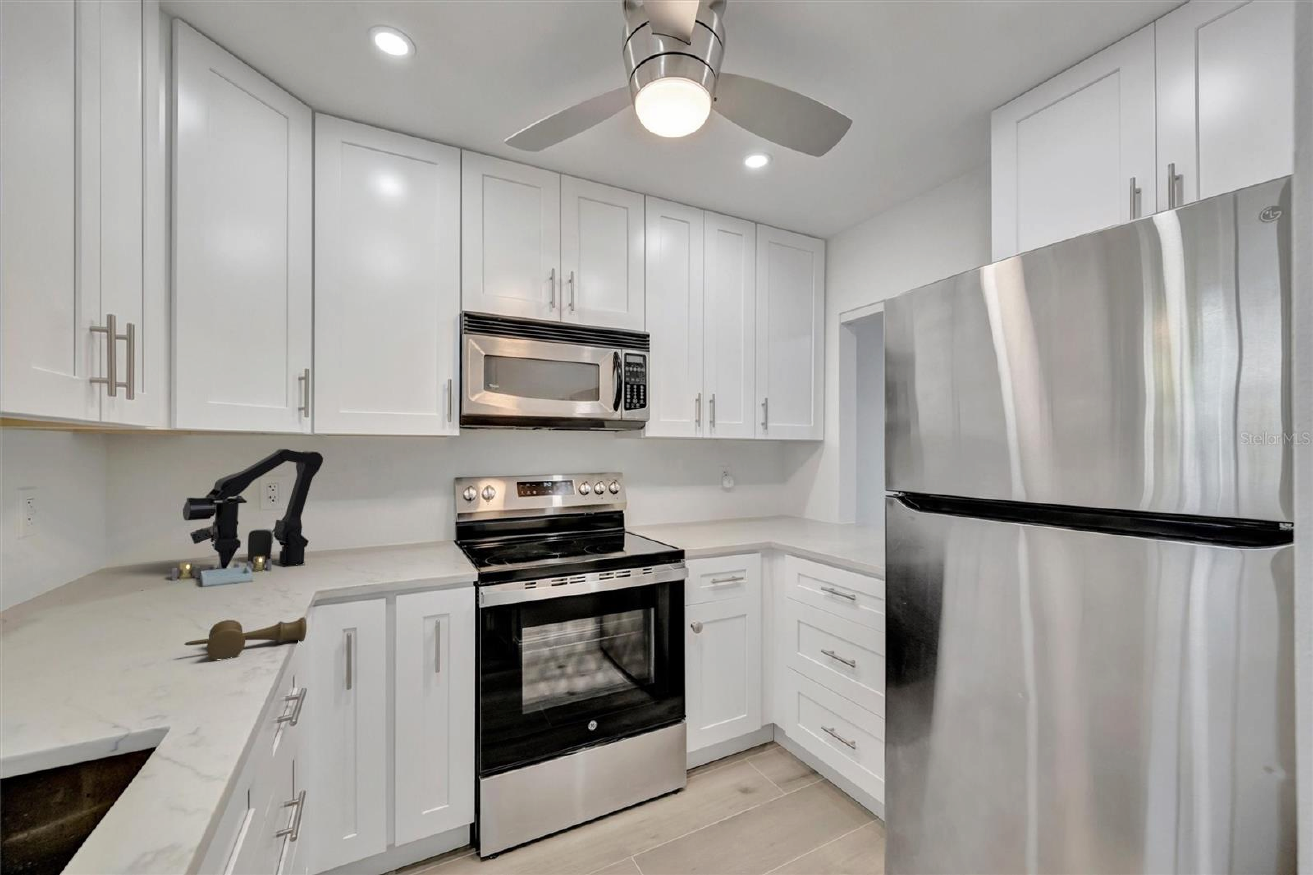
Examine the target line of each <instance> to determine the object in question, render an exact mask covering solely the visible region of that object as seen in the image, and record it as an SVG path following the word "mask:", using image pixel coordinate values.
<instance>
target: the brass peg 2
mask: <svg viewBox="0 0 1313 875" xmlns="http://www.w3.org/2000/svg"><path fill="white" fill-rule="evenodd" d="M263 570H264V571H265V570H266V562H265V556H256V557H254V563H252V572H253V573H257V572H259V571H260V572H264V571H263Z"/></svg>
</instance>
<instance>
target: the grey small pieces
mask: <svg viewBox="0 0 1313 875" xmlns="http://www.w3.org/2000/svg"><path fill="white" fill-rule="evenodd" d="M272 565H273V562H272V559H271V560H270V559H267V560H266V562H265V570H266V569H267V570H266V571H267V572H269V571H270V570H271V571H272ZM247 566H249V568H250V569H251V571H252V572H253V563H252V562H251V561H246V565H245V567H247ZM237 567H240V563H239V562H238V561H236V562H233V568H237ZM208 570H215V566H214V564H208ZM171 571H172V572H171V573H172V575H171V580H172V581H177V579H178V568H177V567H173V568H172V570H171ZM200 576H201V566H200V565H195V566H194V579H199V578H200Z"/></svg>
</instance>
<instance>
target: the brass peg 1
mask: <svg viewBox="0 0 1313 875" xmlns="http://www.w3.org/2000/svg"><path fill="white" fill-rule="evenodd" d="M193 568H194V562H193V561H188V562H180V563H179V578H178V579H179V580H188V579H192V578H193V572H194V571H193V570H194V569H193Z"/></svg>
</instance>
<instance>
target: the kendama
mask: <svg viewBox="0 0 1313 875" xmlns="http://www.w3.org/2000/svg"><path fill="white" fill-rule="evenodd" d="M307 626H308V625H307V620H306V618H305V617H304V616H303V617H300V618H299V619H297V620H294V621H290V622H283V621H281V620H280V621H279V622H278V623H276V624H274V625H271V626H268V627H265V628H260V629H257V630H253V631H248V632H244V633H243V626H242V624H241V623H240V622H239V621H236V620H233V619H226V620H221V621H219V622H217V623H215V624H214V625H213V626H212V627H211V629H210V631H209V634H208V638H205V639H204V638H203V639H196V640H191V641H186V642H185V643H184V646H197V645H206V654H207V655H208V656H209V658H210V659H212V660H215V661H217V660H216V659H226V660H228V659H227V658H231V657H234V658H235V656H236V657H237V656H240V654H241V653H242V651H244V649H245V645H246V641H264V640H265V641H274V642H277V643H278V644H281V643H282V642H285V641H289V640H291V641H292V640H295V641H298V642H301V643H302V642H304V641H305V638H306V635H307ZM231 659H232V658H231Z"/></svg>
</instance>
